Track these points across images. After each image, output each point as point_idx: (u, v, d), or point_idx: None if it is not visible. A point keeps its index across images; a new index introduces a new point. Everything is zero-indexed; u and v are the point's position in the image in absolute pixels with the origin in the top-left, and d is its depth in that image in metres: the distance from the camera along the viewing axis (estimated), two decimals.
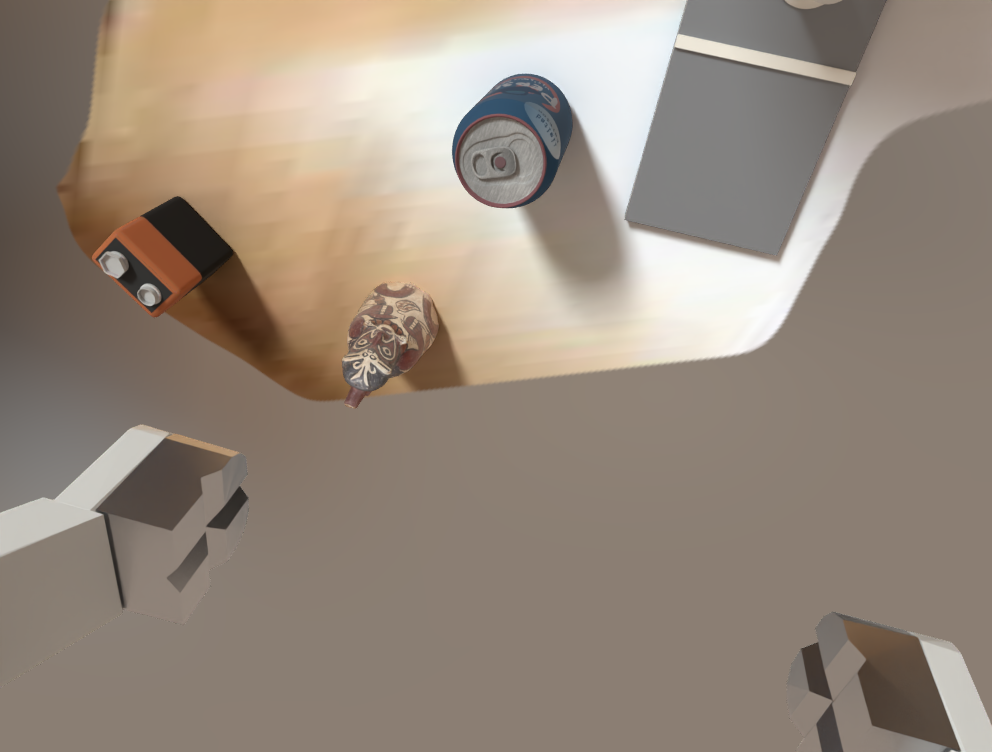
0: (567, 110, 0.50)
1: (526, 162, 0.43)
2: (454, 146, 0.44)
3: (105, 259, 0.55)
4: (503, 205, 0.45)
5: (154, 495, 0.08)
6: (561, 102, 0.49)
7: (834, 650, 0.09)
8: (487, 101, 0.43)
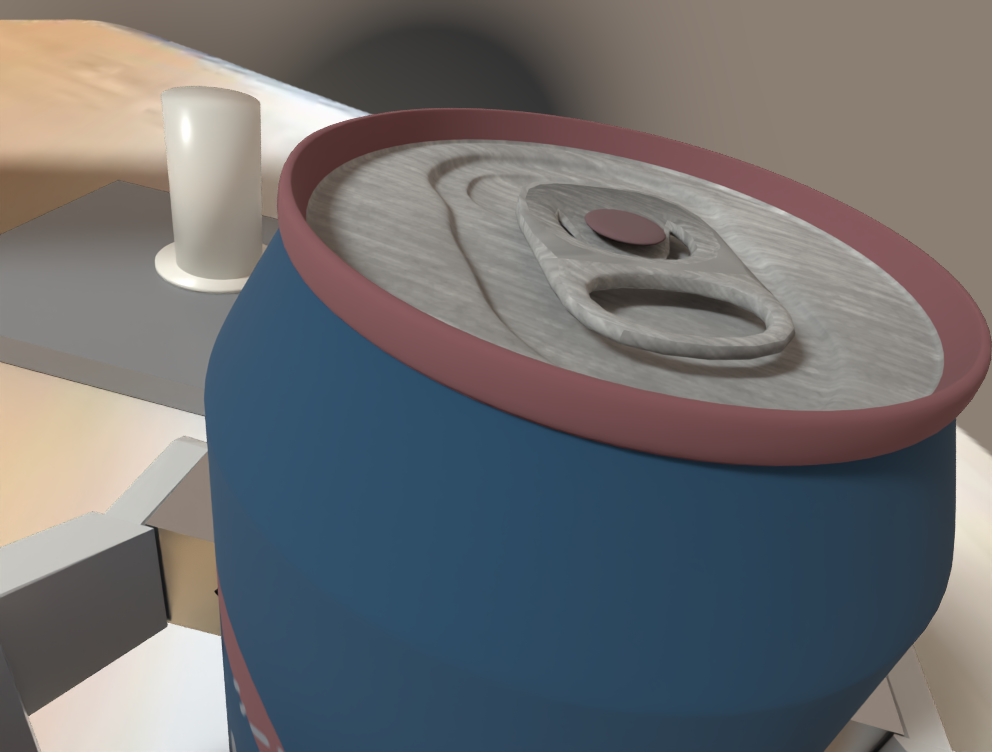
0: None
1: None
2: (553, 598, 0.04)
3: None
4: (904, 266, 0.06)
5: (203, 508, 0.08)
6: None
7: None
8: None
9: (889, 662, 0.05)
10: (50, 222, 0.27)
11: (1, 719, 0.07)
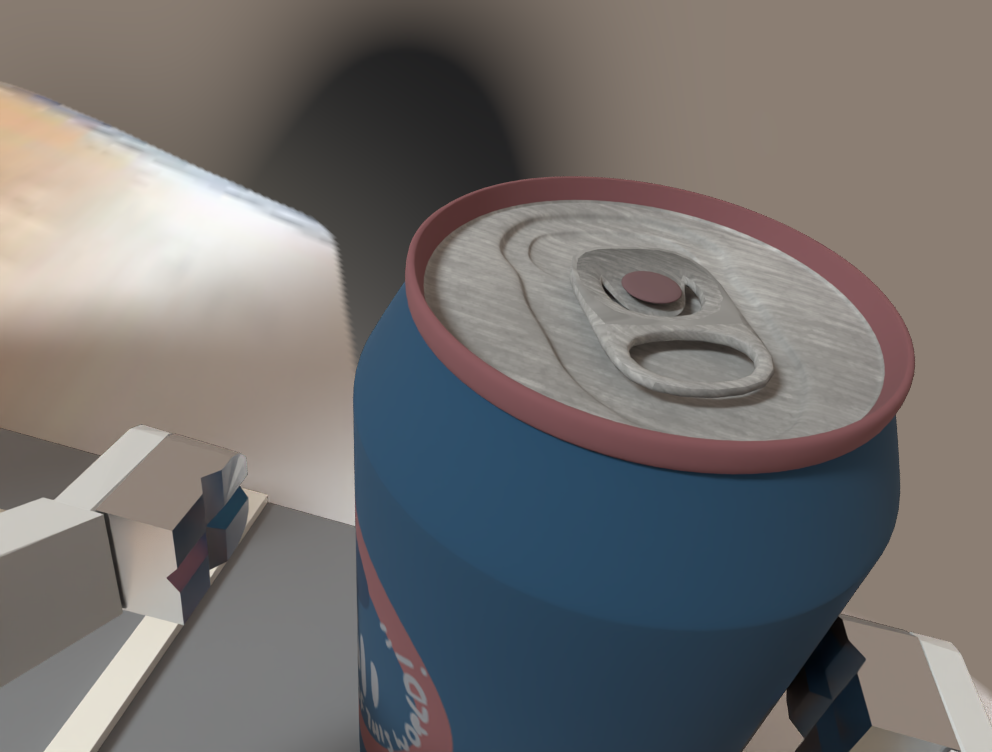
0: None
1: None
2: (617, 561, 0.06)
3: None
4: (865, 300, 0.09)
5: (154, 495, 0.08)
6: None
7: (834, 650, 0.09)
8: (360, 424, 0.08)
9: (842, 592, 0.07)
10: None
11: None
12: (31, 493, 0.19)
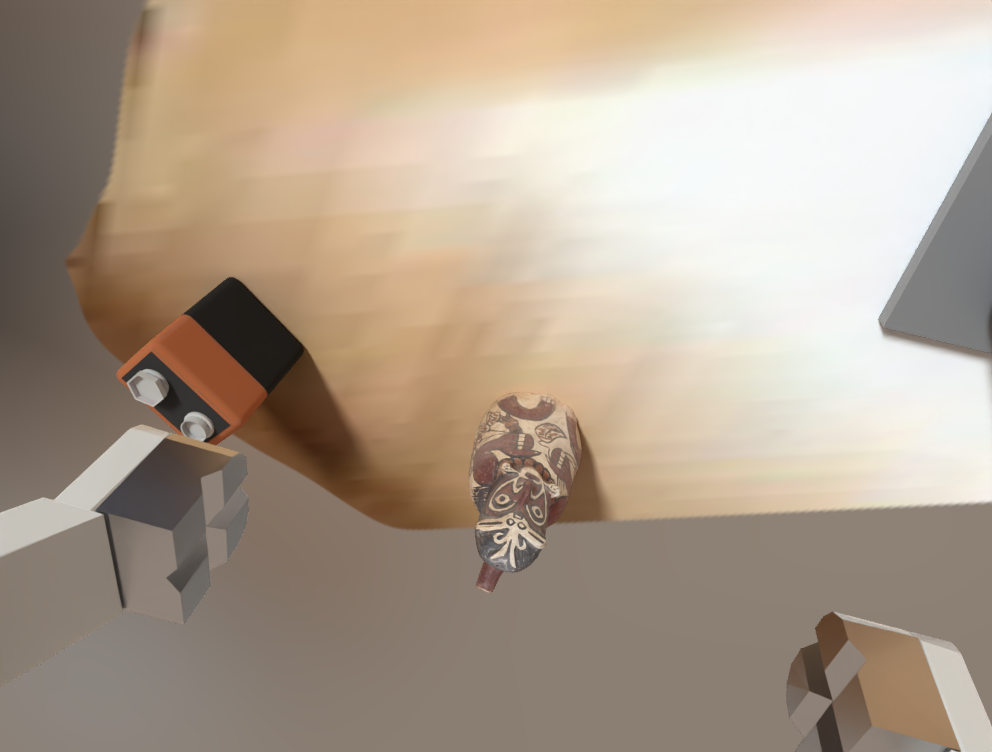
0: None
1: None
2: None
3: (136, 380, 0.39)
4: None
5: (154, 495, 0.08)
6: None
7: (834, 650, 0.09)
8: None
9: None
10: None
11: None
12: None
